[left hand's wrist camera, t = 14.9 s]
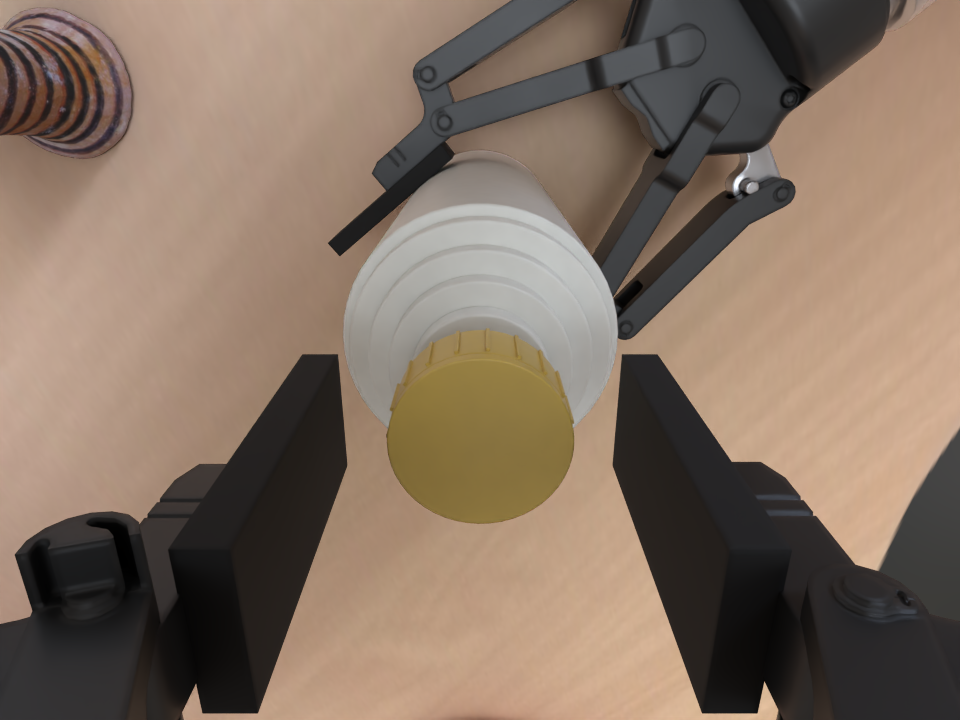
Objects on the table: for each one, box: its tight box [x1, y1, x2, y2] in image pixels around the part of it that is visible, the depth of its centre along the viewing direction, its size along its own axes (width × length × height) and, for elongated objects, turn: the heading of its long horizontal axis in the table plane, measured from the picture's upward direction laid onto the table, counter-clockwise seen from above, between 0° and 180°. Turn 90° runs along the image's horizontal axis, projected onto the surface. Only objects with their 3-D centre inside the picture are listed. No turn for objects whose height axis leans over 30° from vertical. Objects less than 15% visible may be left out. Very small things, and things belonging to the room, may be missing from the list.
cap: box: [386, 328, 574, 524], centre depth 14 cm, size 4×4×2 cm
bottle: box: [343, 150, 618, 428], centre depth 25 cm, size 8×8×24 cm
